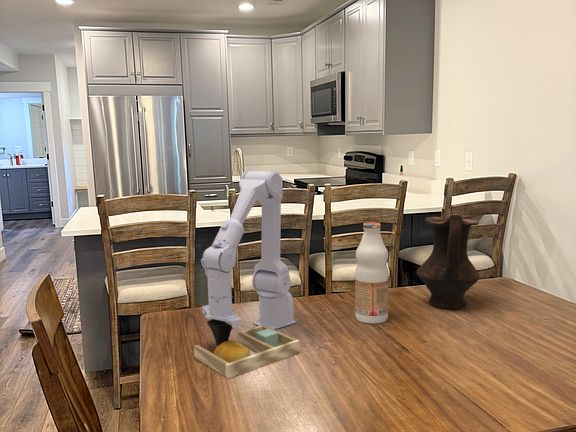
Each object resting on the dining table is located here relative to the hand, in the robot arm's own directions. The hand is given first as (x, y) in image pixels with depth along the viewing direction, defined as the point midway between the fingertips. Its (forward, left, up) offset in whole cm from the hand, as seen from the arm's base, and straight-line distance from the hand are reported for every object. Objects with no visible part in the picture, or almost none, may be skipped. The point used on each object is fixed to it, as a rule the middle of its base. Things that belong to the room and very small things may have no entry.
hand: (222, 347), depth 130 cm
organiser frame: (-3, +5, -1) cm, 6 cm away
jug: (-71, +17, -1) cm, 73 cm away
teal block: (-10, +5, -1) cm, 11 cm away
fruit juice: (-45, +9, -1) cm, 46 cm away
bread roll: (0, +5, -1) cm, 5 cm away
